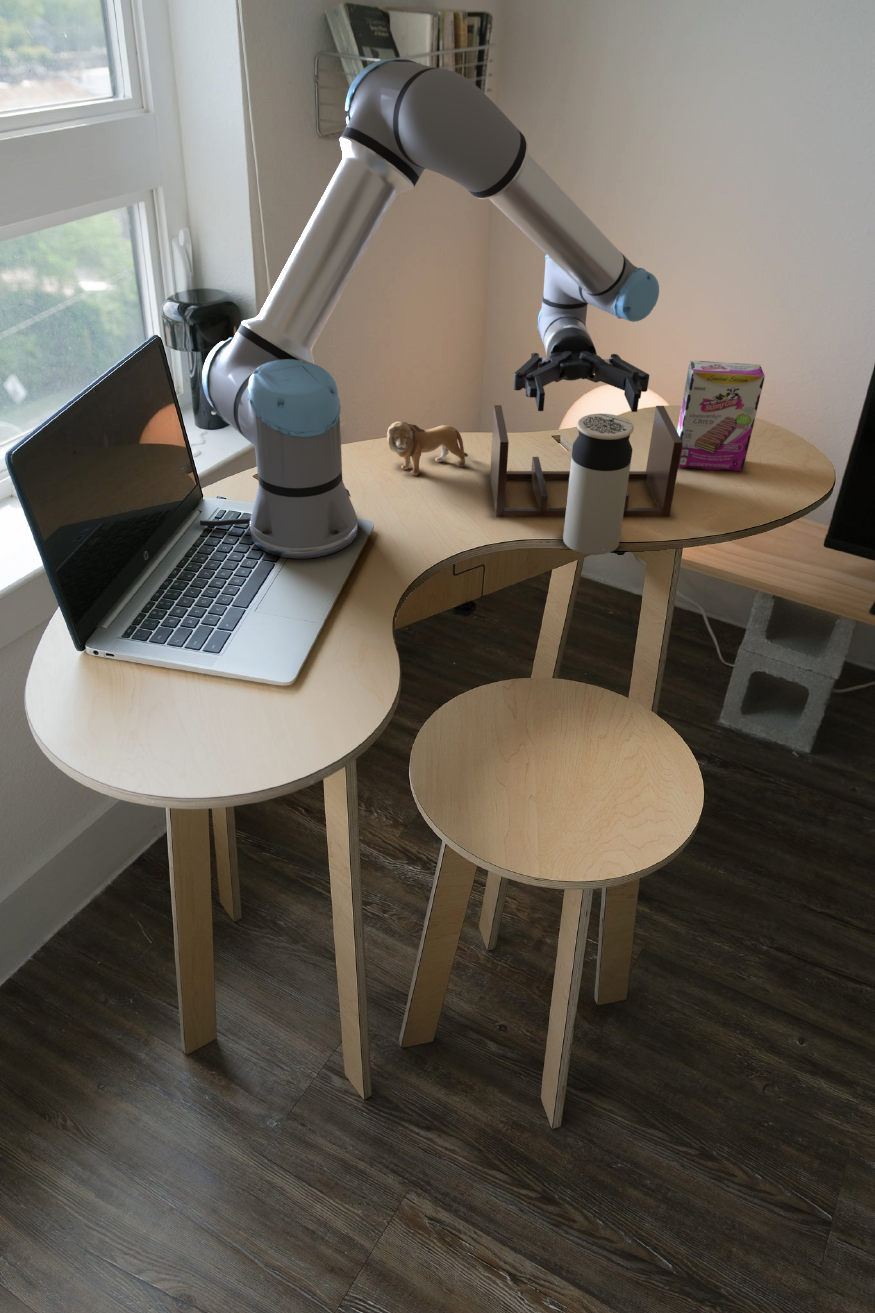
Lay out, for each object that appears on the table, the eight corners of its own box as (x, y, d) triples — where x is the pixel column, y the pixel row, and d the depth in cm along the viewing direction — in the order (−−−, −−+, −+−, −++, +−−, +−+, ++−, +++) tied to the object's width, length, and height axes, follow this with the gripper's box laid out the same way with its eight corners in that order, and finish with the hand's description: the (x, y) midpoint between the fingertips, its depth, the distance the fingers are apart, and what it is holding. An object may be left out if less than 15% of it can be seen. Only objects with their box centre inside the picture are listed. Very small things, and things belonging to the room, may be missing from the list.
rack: (496, 516, 149) (500, 441, 141) (490, 476, 159) (493, 404, 152) (669, 516, 149) (682, 442, 142) (652, 476, 160) (663, 405, 152)
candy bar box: (674, 469, 162) (691, 370, 152) (671, 455, 166) (688, 359, 156) (744, 473, 161) (766, 374, 151) (740, 459, 165) (761, 362, 155)
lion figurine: (396, 485, 156) (396, 431, 151) (380, 471, 160) (379, 418, 154) (475, 464, 162) (478, 411, 157) (458, 451, 166) (459, 400, 161)
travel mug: (593, 563, 139) (609, 442, 128) (551, 541, 143) (562, 422, 132) (630, 543, 143) (648, 425, 132) (587, 522, 148) (601, 407, 137)
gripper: (643, 373, 163) (670, 427, 146) (491, 371, 162) (500, 426, 146) (650, 327, 159) (679, 378, 142) (493, 325, 158) (503, 376, 141)
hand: (588, 402), depth 144 cm, fingers open, 13 cm apart
